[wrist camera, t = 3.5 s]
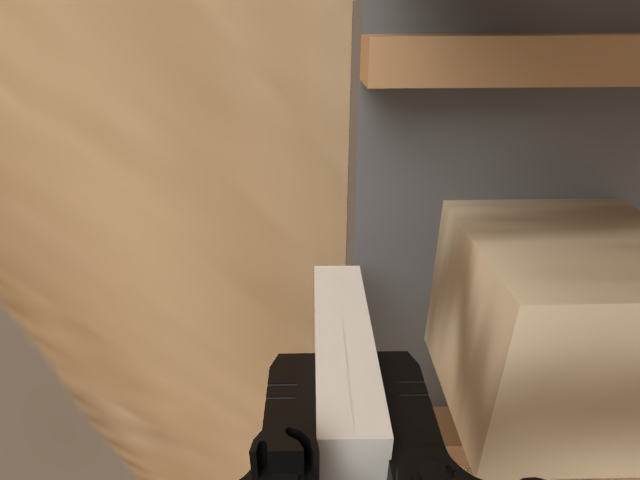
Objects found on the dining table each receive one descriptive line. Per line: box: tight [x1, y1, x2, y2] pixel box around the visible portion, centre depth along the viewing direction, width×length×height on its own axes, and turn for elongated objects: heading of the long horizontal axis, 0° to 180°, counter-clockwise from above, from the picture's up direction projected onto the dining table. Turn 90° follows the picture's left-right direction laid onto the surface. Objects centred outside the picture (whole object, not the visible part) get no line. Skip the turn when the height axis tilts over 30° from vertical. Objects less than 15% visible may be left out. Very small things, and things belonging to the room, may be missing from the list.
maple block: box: [424, 198, 640, 480], centre depth 13 cm, size 6×6×6 cm
